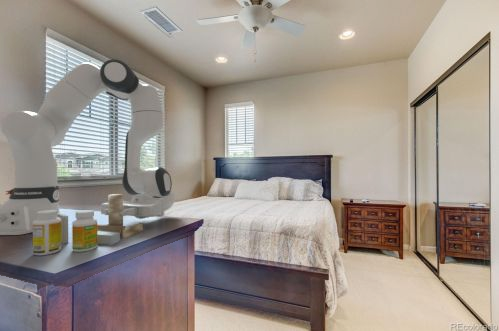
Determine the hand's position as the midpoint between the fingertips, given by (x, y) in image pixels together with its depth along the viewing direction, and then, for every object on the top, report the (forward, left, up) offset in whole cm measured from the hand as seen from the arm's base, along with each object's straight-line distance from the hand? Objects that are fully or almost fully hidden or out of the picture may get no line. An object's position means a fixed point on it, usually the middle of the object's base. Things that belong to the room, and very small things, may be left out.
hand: (113, 213), depth 76 cm
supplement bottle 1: (-11, -12, -7) cm, 18 cm away
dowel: (0, +1, -5) cm, 6 cm away
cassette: (-14, -1, -7) cm, 16 cm away
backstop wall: (-2, -5, -7) cm, 9 cm away
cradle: (+1, +2, -7) cm, 7 cm away
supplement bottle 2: (-3, -11, -7) cm, 14 cm away
